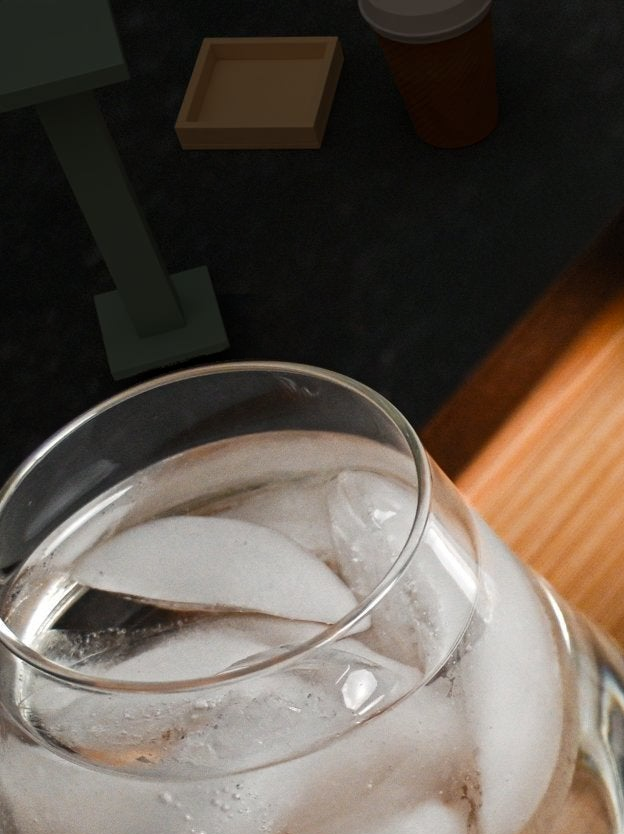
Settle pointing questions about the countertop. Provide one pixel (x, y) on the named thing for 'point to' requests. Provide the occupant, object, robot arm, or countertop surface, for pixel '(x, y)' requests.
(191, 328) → the stand
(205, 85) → the tray
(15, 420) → the countertop surface
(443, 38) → the disposable coffee cup
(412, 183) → the countertop surface
